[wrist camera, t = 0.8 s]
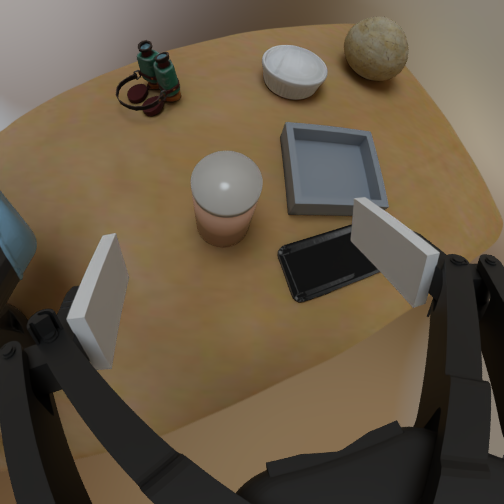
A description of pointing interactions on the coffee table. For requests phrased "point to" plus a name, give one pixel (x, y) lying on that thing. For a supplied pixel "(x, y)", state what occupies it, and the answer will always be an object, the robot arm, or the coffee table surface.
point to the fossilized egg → (376, 48)
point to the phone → (323, 264)
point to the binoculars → (152, 80)
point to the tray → (329, 169)
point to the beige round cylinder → (225, 196)
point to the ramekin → (293, 71)
